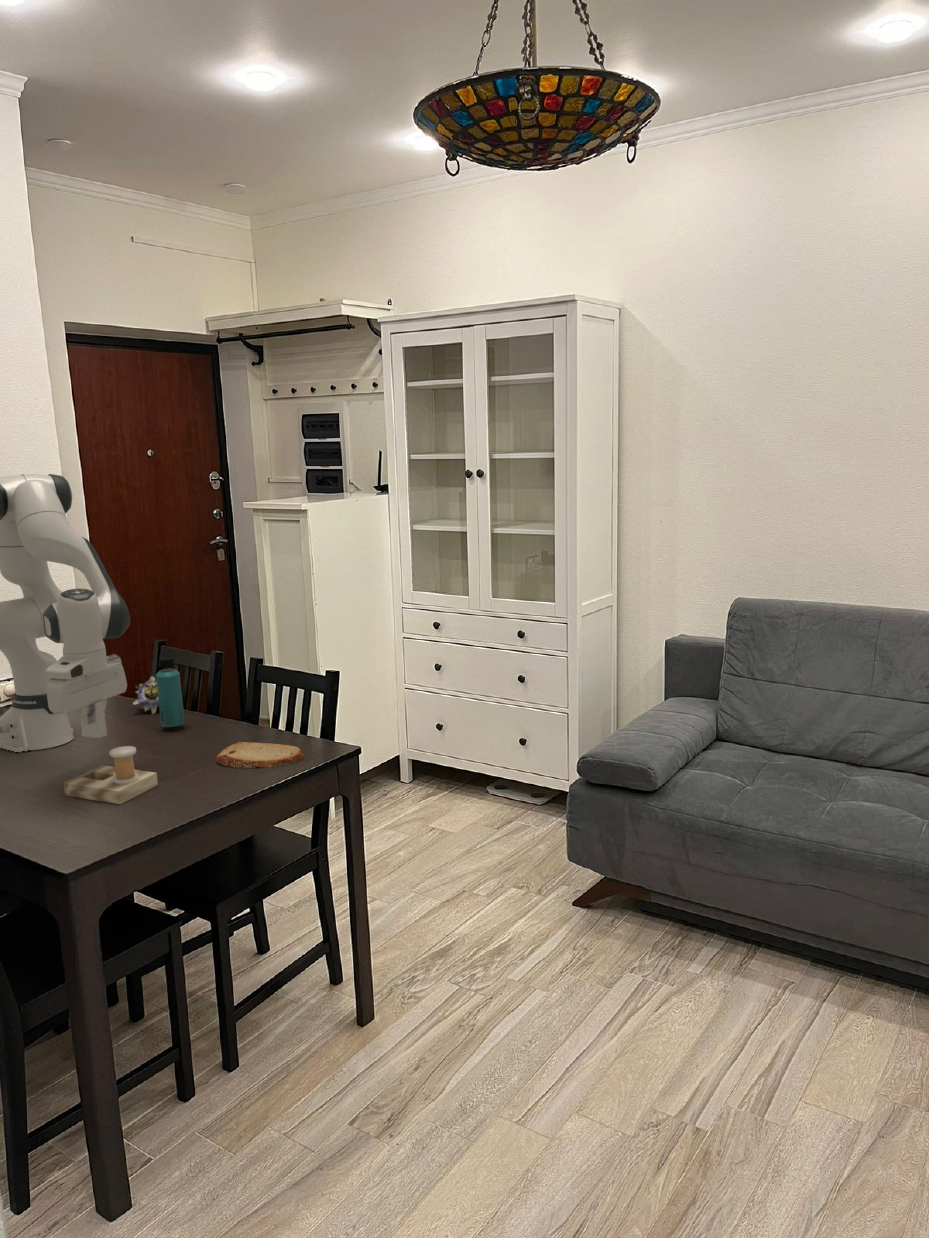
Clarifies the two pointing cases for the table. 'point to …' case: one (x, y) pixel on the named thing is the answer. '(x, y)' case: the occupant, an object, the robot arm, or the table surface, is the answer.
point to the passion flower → (148, 695)
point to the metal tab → (95, 721)
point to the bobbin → (124, 765)
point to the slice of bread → (258, 755)
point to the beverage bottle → (169, 694)
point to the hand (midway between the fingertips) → (92, 722)
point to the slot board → (108, 785)
